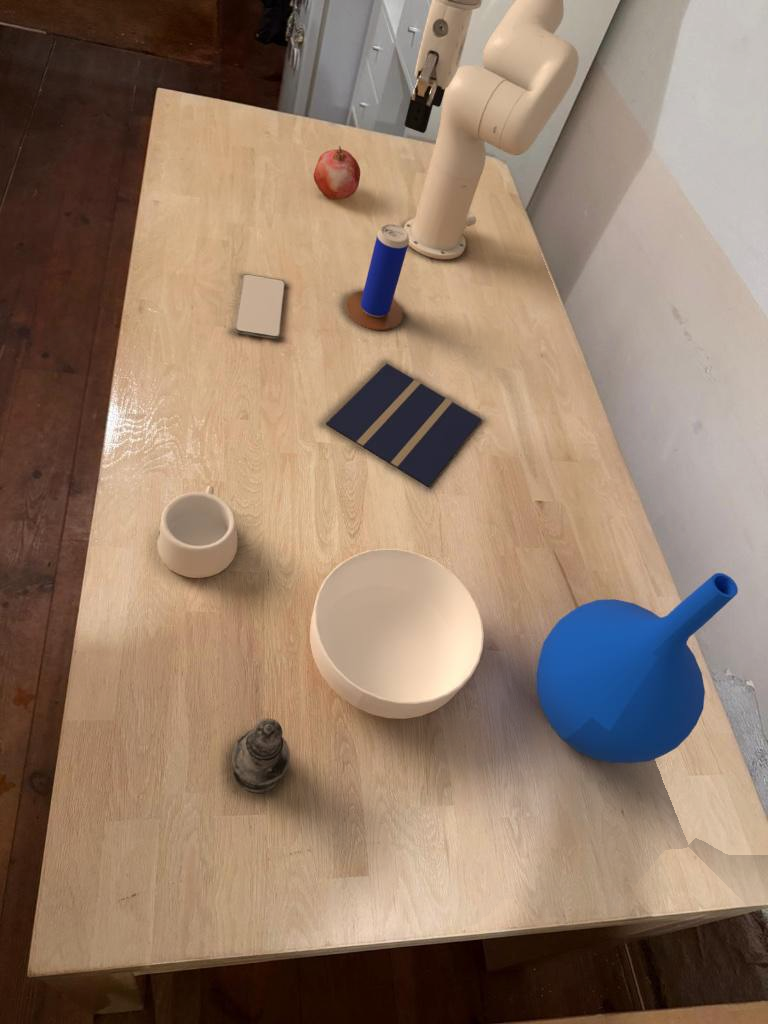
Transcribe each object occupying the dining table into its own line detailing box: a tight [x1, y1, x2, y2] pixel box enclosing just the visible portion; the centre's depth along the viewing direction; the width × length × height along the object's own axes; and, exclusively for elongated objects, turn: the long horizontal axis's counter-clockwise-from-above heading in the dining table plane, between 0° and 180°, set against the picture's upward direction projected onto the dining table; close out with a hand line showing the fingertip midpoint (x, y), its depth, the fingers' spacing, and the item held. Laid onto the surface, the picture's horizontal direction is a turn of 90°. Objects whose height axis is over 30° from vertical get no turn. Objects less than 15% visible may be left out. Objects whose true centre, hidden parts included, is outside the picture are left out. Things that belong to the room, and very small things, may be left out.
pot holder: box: [325, 363, 482, 488], centre depth 114 cm, size 18×18×1 cm
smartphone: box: [234, 273, 286, 340], centre depth 122 cm, size 7×1×15 cm
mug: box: [156, 485, 239, 579], centre depth 91 cm, size 12×10×6 cm
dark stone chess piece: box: [231, 717, 291, 794], centre depth 74 cm, size 6×6×12 cm
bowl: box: [309, 547, 485, 720], centre depth 87 cm, size 20×20×8 cm
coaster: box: [345, 290, 403, 331], centre depth 129 cm, size 10×10×1 cm
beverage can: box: [361, 223, 409, 317], centre depth 123 cm, size 5×5×15 cm
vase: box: [536, 572, 739, 764], centre depth 80 cm, size 18×18×30 cm
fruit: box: [313, 145, 361, 200], centre depth 145 cm, size 9×10×10 cm
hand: (422, 115), depth 110 cm, fingers open, 9 cm apart
